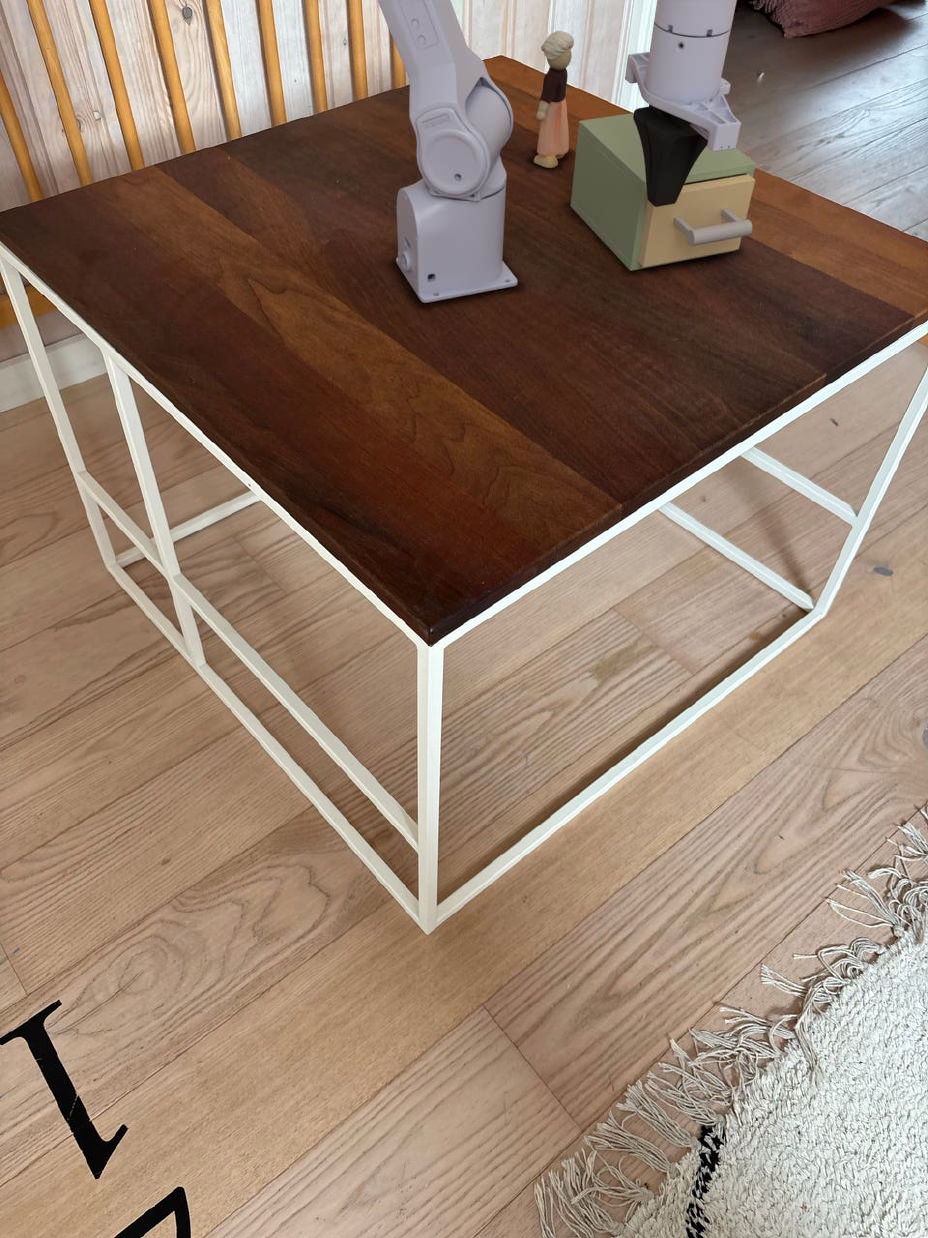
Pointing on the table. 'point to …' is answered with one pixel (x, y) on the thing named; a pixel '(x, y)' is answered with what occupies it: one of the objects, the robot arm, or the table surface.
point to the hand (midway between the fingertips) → (661, 201)
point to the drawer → (698, 221)
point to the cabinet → (629, 181)
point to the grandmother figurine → (554, 101)
